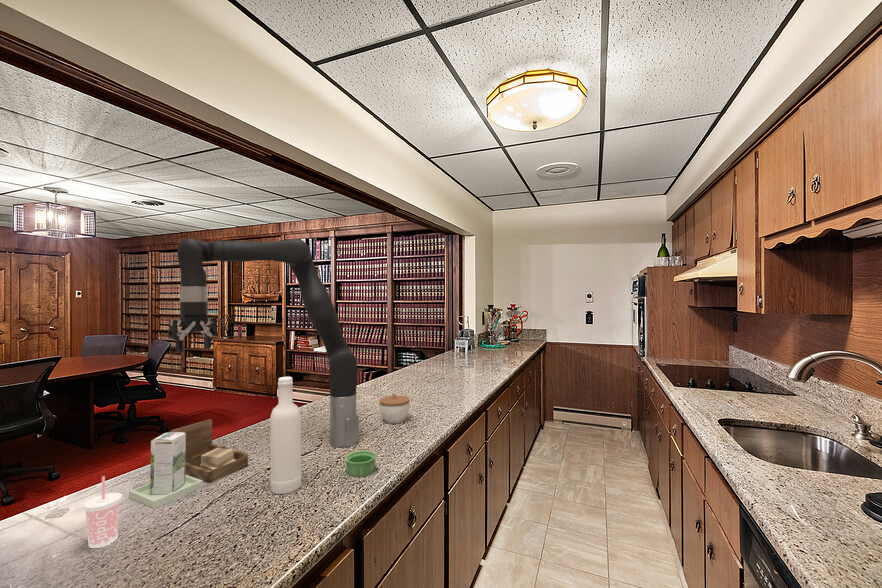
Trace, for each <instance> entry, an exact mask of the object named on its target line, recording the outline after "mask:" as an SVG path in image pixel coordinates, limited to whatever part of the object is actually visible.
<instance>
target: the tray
mask: <svg viewBox="0 0 882 588" xmlns="http://www.w3.org/2000/svg"><path fill="white" fill-rule="evenodd" d="M202 488H204V481H202V480H200V479H197V478H194V477H191V476H188V475H185V484H184V485H182V486H181V487H180V488H179V489H177V490H176V491H174V492H172V493H170V494H156V495H151V494H150V482H149V483H146V484H144V485H141V486H138V487H135V488H132V489H130V490H129V492H128V498H130V499H131V500H134V501H136V502H139V503H141V504H142V505H144V506H147V507H149V508H152V509H156V508H158V507H161V506H163V505H165V504H167V503H170V502H172V501H174V500H177V499H179V498H181V497H184V496H186V495H188V494H191V493H192V492H195V491H197V490H199V489H202Z"/></svg>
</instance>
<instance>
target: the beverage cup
mask: <svg viewBox="0 0 882 588" xmlns="http://www.w3.org/2000/svg"><path fill="white" fill-rule="evenodd" d="M122 496H123V494H121V493H120V492H109V493H106V476H105V475H102V476H101V495H98V496H95V497H93V498H91V499H89V500H87V501H86V502H85V503H84V504H83V508H84V509H83V510H84V511H85V518H86V529H87V532H86V533H87V541H88V542H87V543H88V548H89V547H90V548H100V547H103V548H106V547H107V545H108V546H111V545H112V544H113V542H114V541H115V540H116V539H117V540H118V534H119V523H120V522H119V521H120V509H121V508H120V506H121V502H122V500H123V498H122ZM117 540H116V541H117ZM116 541H115V542H116ZM115 542H114V543H115ZM111 543H112V544H111ZM105 546H106V547H105ZM90 548H89V549H90ZM100 549H101V548H100Z"/></svg>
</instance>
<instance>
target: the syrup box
mask: <svg viewBox="0 0 882 588" xmlns="http://www.w3.org/2000/svg"><path fill="white" fill-rule="evenodd" d="M185 451H186V433H182V432H171V431H169V432H164V433H163V434H161V435H159V436H158V437H155V438H153V439H151V440H150V482H149V483H150V494H151V495H156V494H170V493H172V492H174V491H176V490H177V489H179V488H180V487H181V486H182V485H184V484H185Z"/></svg>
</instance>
